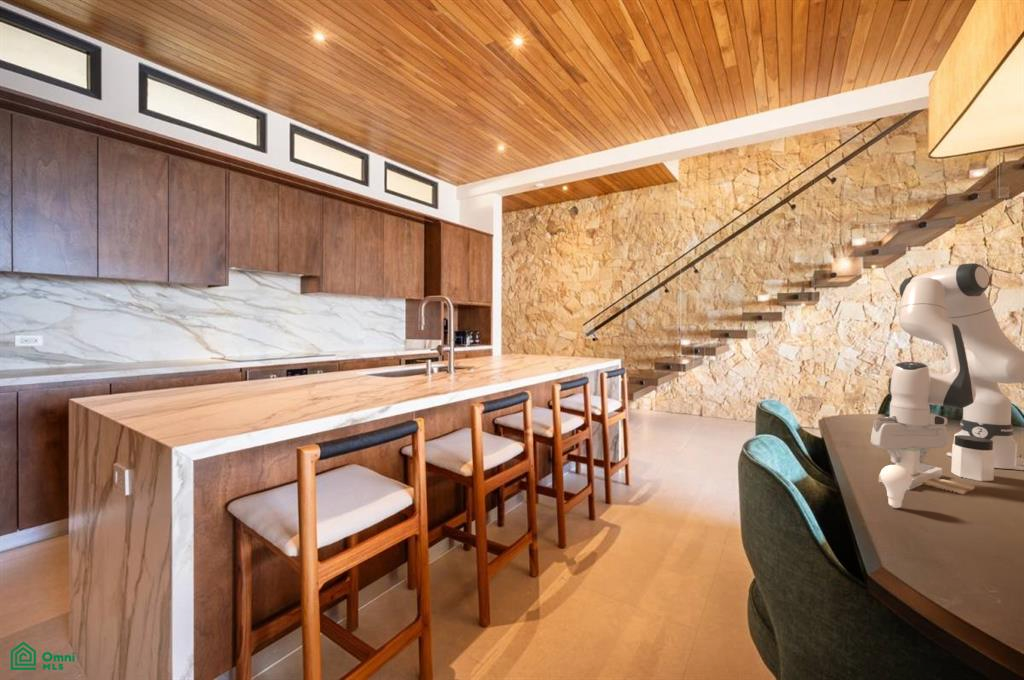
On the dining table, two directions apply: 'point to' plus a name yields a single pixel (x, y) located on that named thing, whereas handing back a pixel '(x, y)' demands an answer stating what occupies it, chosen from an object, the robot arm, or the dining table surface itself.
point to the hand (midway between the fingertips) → (907, 462)
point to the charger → (909, 459)
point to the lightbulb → (895, 483)
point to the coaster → (949, 485)
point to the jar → (973, 458)
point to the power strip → (923, 475)
